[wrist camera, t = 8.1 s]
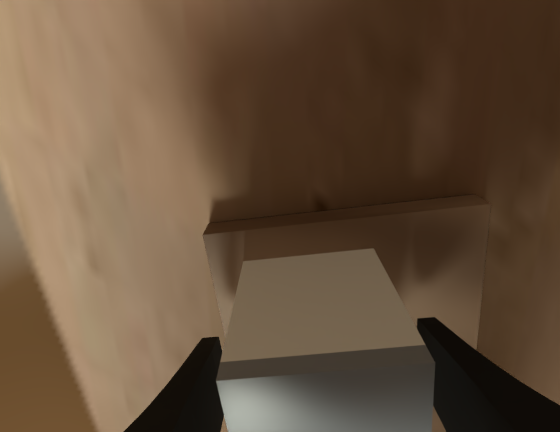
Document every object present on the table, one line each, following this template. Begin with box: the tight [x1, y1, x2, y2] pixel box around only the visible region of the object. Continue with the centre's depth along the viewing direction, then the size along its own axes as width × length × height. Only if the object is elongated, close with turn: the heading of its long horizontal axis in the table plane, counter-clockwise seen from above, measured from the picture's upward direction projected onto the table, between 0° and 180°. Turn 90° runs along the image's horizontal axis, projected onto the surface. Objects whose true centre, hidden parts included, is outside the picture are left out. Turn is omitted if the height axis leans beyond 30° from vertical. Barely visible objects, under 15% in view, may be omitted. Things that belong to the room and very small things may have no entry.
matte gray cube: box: [216, 248, 435, 432], centre depth 12 cm, size 5×5×6 cm
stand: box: [203, 194, 491, 432], centre depth 15 cm, size 16×11×5 cm
